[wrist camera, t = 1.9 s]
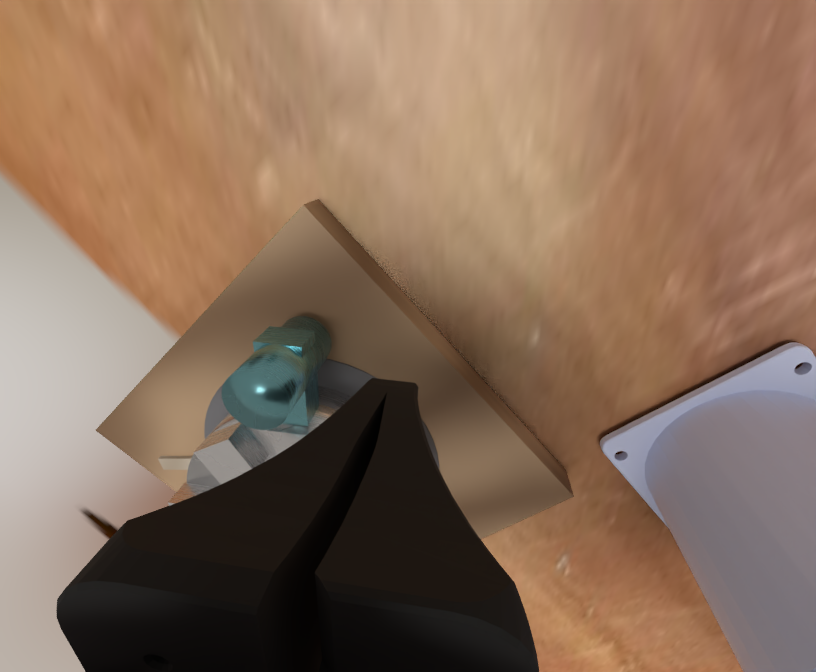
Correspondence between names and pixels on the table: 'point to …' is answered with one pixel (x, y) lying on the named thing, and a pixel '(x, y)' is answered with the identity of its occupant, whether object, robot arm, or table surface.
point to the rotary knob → (266, 405)
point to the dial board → (341, 373)
